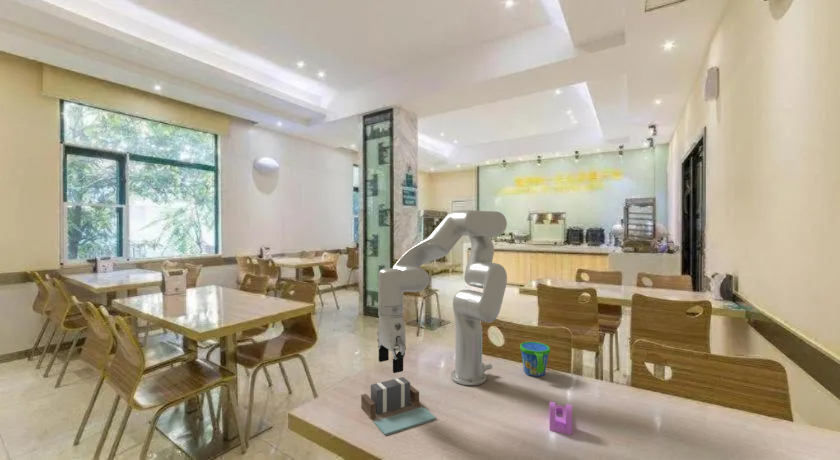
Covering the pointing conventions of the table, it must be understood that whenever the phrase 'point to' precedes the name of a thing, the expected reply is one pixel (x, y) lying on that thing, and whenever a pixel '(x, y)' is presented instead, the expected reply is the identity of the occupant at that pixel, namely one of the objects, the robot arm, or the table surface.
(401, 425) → the rubber mat
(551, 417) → the bracket
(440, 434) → the table surface
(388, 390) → the banded grey block
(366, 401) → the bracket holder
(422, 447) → the table surface
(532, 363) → the snack cup
